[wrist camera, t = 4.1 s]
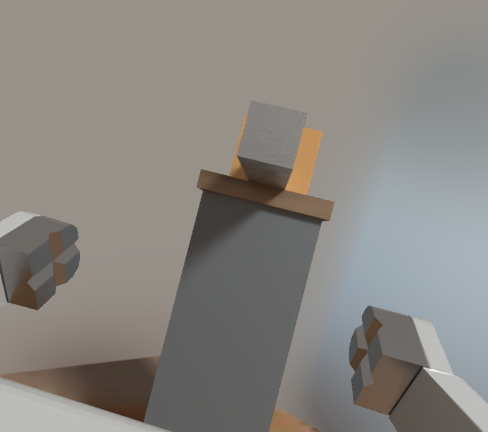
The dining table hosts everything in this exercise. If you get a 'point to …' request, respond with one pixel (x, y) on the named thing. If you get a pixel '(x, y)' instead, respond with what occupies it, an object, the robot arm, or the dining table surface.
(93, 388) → the dining table surface
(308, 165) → the bar
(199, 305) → the cabinet stand
